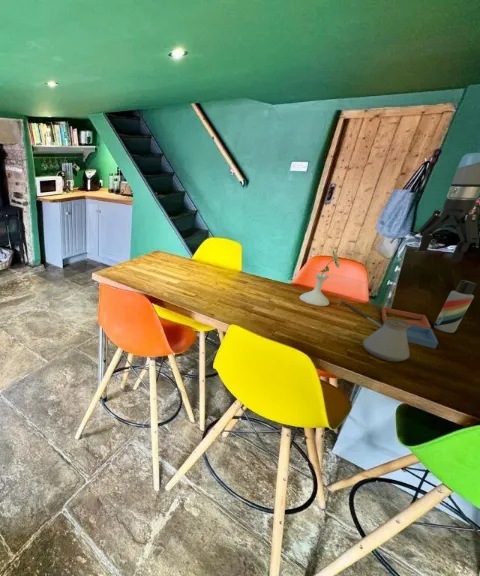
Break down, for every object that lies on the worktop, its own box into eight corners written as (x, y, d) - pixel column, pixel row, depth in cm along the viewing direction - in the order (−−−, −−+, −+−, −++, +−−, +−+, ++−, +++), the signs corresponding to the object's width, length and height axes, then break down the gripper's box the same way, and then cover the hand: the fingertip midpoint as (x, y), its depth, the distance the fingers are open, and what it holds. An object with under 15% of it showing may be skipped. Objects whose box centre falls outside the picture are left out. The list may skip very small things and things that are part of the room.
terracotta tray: (423, 320, 122) (425, 315, 121) (428, 332, 114) (431, 326, 113) (380, 312, 130) (382, 307, 129) (382, 322, 121) (384, 317, 120)
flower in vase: (318, 310, 132) (336, 256, 122) (293, 300, 142) (308, 249, 132) (335, 305, 137) (354, 252, 128) (310, 296, 147) (326, 246, 137)
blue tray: (429, 334, 112) (432, 328, 111) (435, 348, 104) (438, 342, 103) (382, 324, 120) (385, 318, 119) (385, 336, 111) (387, 330, 110)
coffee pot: (406, 356, 100) (426, 316, 94) (405, 371, 93) (426, 328, 87) (329, 331, 114) (342, 295, 108) (322, 343, 107) (336, 305, 101)
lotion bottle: (428, 325, 119) (452, 278, 111) (443, 325, 118) (468, 278, 111) (443, 332, 113) (469, 283, 106) (459, 333, 113) (486, 284, 106)
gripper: (419, 196, 122) (400, 247, 129) (487, 202, 99) (460, 264, 106) (439, 196, 121) (420, 247, 129) (513, 201, 98) (483, 264, 106)
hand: (438, 255), depth 117 cm, fingers open, 13 cm apart
